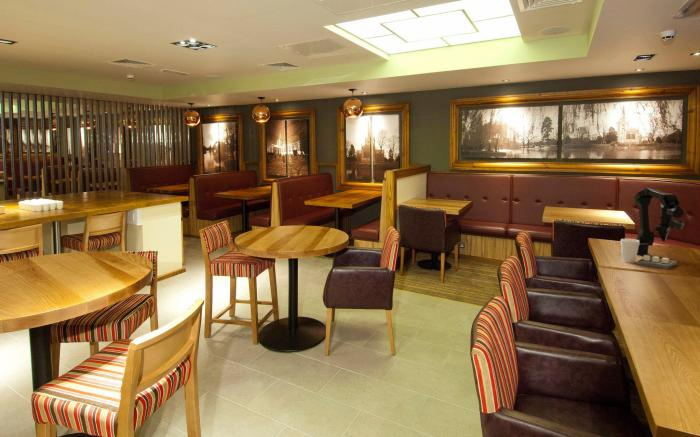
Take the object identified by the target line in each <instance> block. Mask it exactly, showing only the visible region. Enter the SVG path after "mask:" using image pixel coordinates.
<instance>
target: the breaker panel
mask: <svg viewBox="0 0 700 437" xmlns="http://www.w3.org/2000/svg"><path fill="white" fill-rule="evenodd" d="M652 259H653V256H650V260H649V261H646V260H643V258H641V259H639V260H637V265H638V266H639V265H640V266H644V267H650V268H656V269H663V270H670V269H671V268H673V267H674V266H676V265H677V263H678V262H677V260H671V259H669V262H668V263H662V258H659V262H653V261H652Z"/></svg>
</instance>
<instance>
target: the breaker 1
mask: <svg viewBox="0 0 700 437" xmlns="http://www.w3.org/2000/svg"><path fill="white" fill-rule="evenodd" d="M650 257H651V255H643V258H642V259H643V260H646V261H649V260H650Z"/></svg>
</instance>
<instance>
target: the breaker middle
mask: <svg viewBox="0 0 700 437" xmlns="http://www.w3.org/2000/svg"><path fill="white" fill-rule="evenodd" d="M652 258H653V259H652V261H653V262H659V259H660V256H656V255H655V256H652Z"/></svg>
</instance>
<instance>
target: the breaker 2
mask: <svg viewBox="0 0 700 437" xmlns="http://www.w3.org/2000/svg"><path fill="white" fill-rule="evenodd" d="M661 259H662V263H668V262H669V260H670V259H669V258H668V257H662V258H661Z"/></svg>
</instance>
